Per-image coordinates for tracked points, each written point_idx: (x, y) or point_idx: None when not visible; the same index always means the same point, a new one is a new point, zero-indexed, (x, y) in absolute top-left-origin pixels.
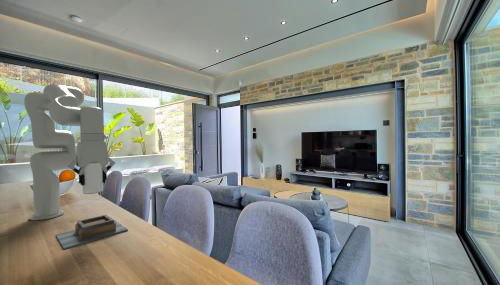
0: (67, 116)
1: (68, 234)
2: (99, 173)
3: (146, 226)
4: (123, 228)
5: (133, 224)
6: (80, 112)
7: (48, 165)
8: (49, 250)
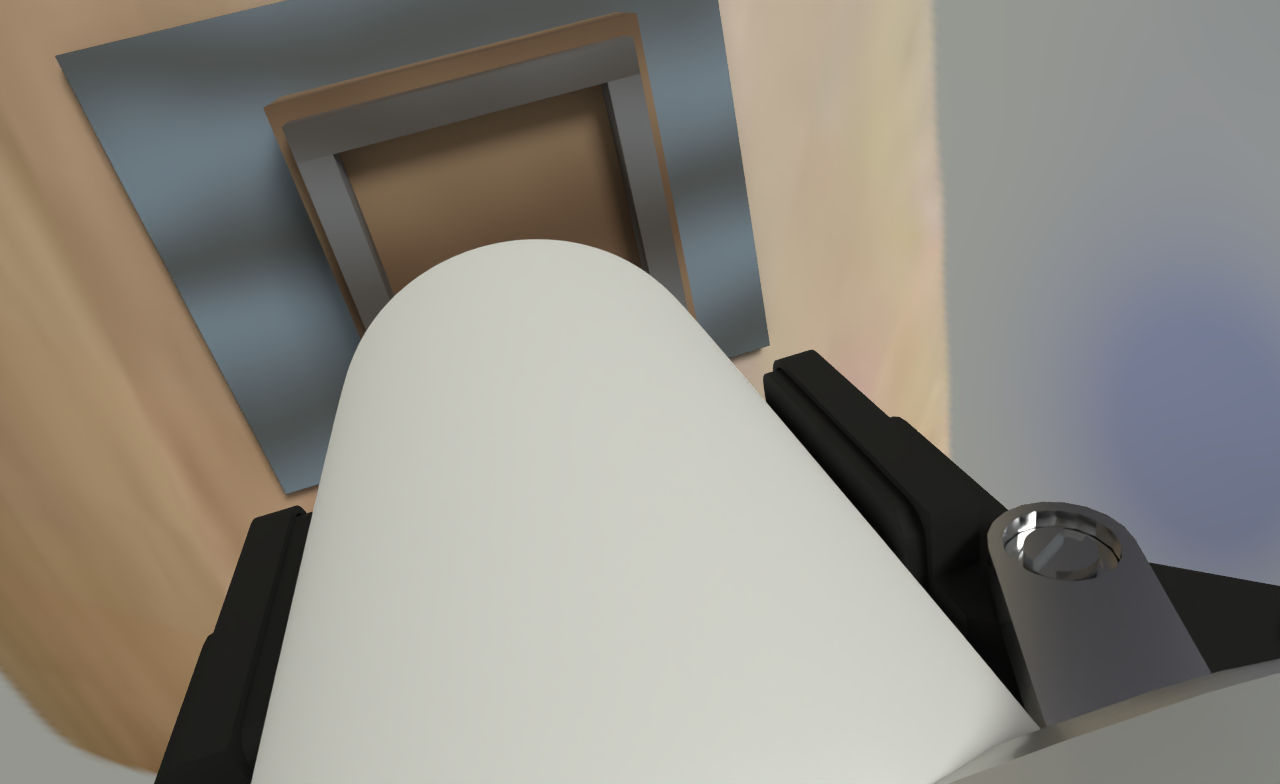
0: None
1: (221, 148)
2: None
3: (915, 318)
4: (742, 300)
5: (844, 185)
6: None
7: None
8: (166, 445)
